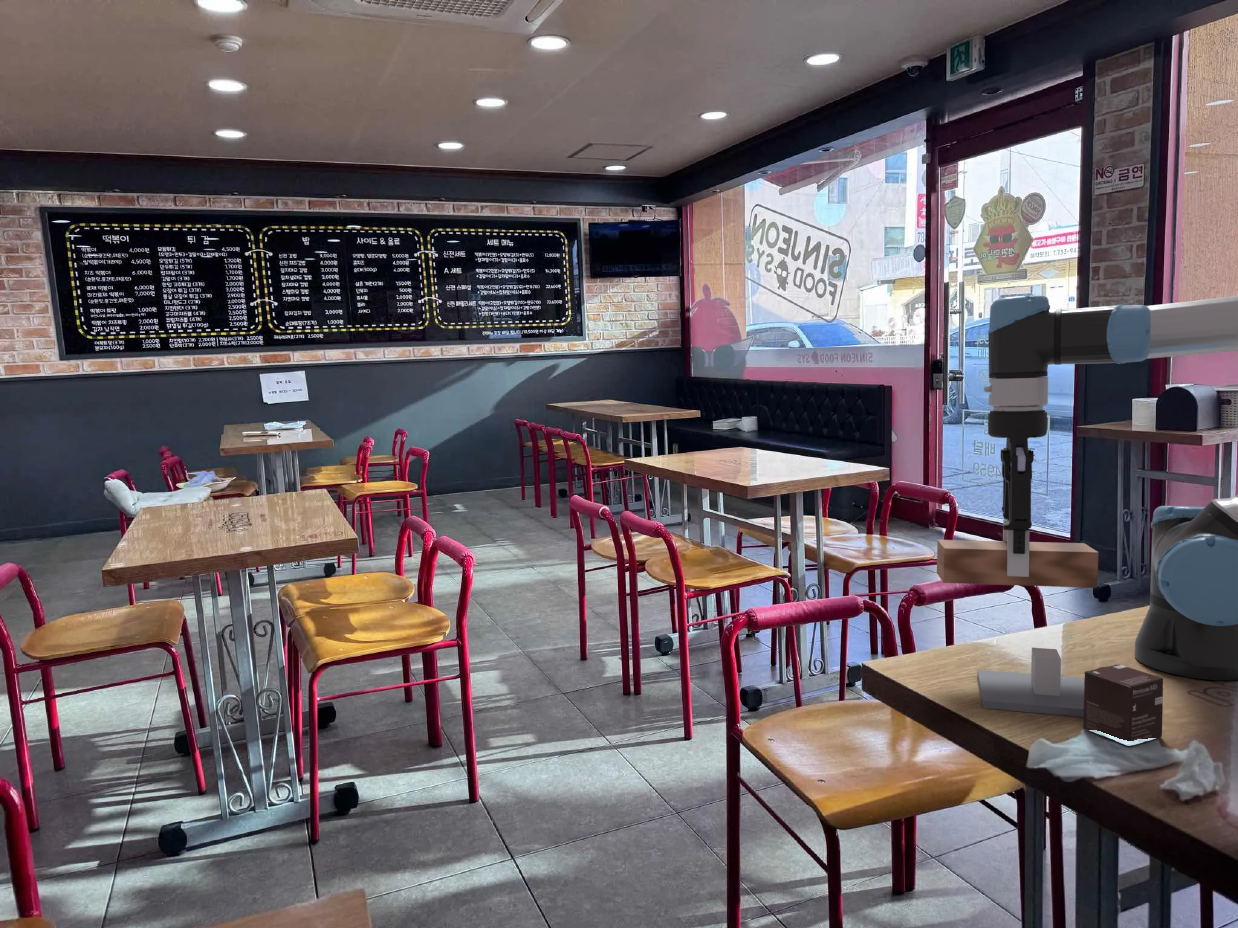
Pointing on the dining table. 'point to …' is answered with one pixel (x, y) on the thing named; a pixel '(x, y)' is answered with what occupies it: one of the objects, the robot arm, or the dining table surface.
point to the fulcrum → (1034, 687)
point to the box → (1123, 702)
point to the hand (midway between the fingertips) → (1015, 569)
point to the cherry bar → (990, 564)
